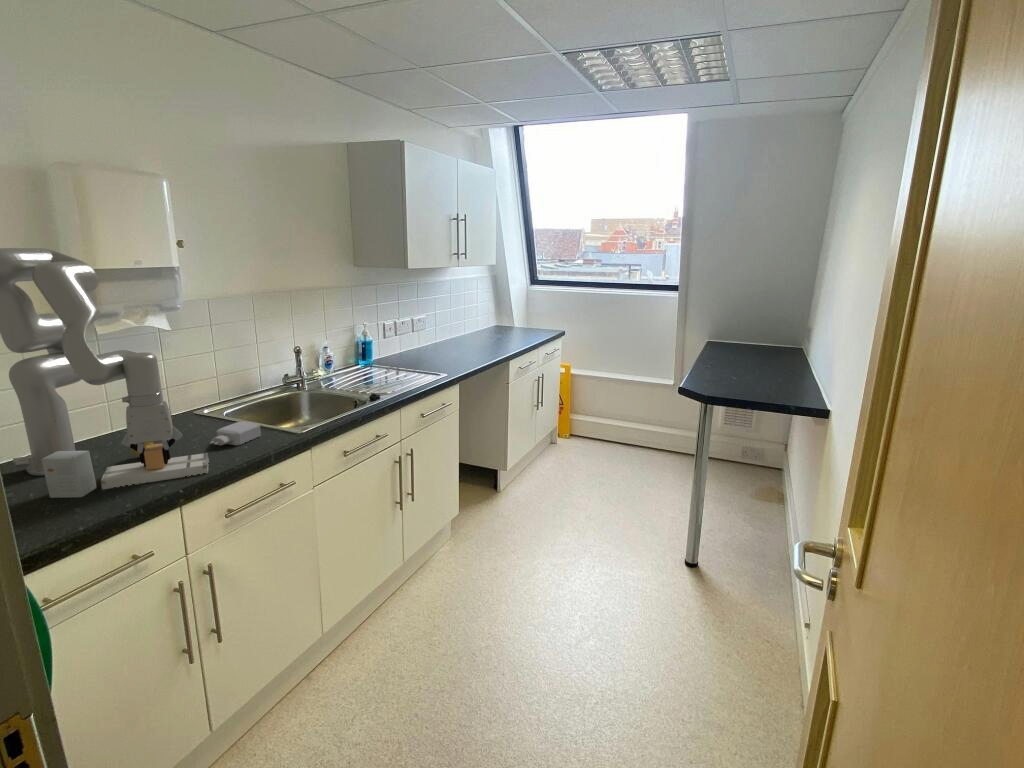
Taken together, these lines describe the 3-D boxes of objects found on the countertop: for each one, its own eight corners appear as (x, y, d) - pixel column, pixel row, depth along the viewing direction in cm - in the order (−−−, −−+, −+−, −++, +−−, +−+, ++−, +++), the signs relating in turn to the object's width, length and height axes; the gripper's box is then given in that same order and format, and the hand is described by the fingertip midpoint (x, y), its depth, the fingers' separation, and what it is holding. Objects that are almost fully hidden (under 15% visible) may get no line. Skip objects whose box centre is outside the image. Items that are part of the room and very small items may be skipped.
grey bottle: (201, 449, 171) (239, 434, 185) (224, 452, 168) (261, 437, 182) (199, 434, 170) (237, 420, 184) (223, 438, 167) (259, 423, 181)
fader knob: (147, 474, 148) (143, 452, 146) (149, 466, 153) (146, 445, 152) (164, 471, 150) (161, 450, 148) (166, 463, 155) (163, 443, 153)
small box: (97, 488, 143) (90, 450, 140) (81, 498, 138) (74, 458, 135) (65, 488, 143) (57, 450, 140) (48, 498, 137) (40, 458, 135)
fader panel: (102, 489, 142) (100, 480, 142) (109, 475, 151) (107, 466, 150) (207, 473, 153) (206, 464, 152) (208, 460, 162) (207, 452, 161)
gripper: (105, 406, 140) (117, 474, 144) (181, 399, 147) (190, 463, 152) (110, 399, 146) (121, 464, 151) (183, 392, 153) (192, 454, 158)
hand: (156, 463), depth 151 cm, fingers closed on fader knob, 4 cm apart
